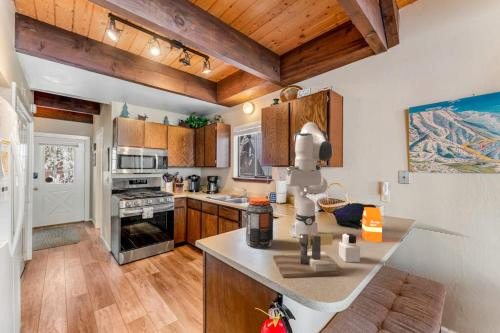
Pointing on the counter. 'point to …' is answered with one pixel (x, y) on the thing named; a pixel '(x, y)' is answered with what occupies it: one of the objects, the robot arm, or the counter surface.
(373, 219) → the orange juice
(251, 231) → the supplement tub
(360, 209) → the navy cloth bag
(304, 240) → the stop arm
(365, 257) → the counter surface
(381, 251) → the counter surface
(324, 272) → the lock plate
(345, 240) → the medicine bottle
